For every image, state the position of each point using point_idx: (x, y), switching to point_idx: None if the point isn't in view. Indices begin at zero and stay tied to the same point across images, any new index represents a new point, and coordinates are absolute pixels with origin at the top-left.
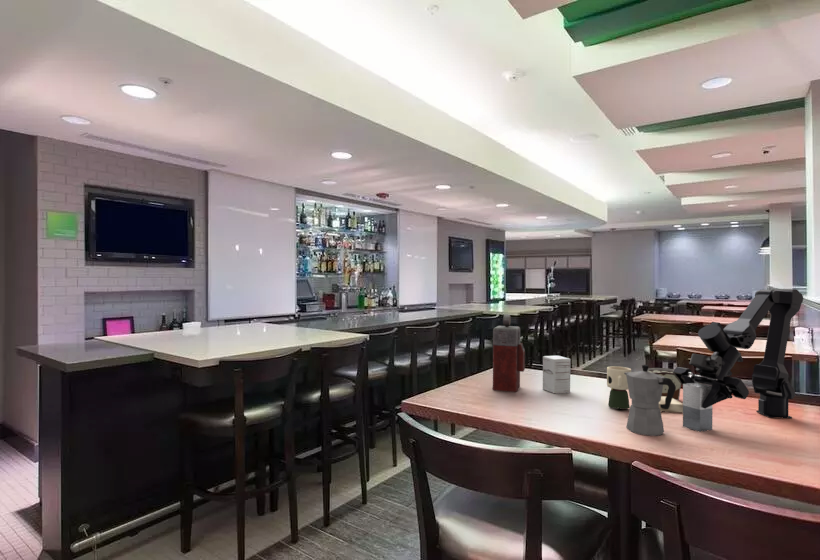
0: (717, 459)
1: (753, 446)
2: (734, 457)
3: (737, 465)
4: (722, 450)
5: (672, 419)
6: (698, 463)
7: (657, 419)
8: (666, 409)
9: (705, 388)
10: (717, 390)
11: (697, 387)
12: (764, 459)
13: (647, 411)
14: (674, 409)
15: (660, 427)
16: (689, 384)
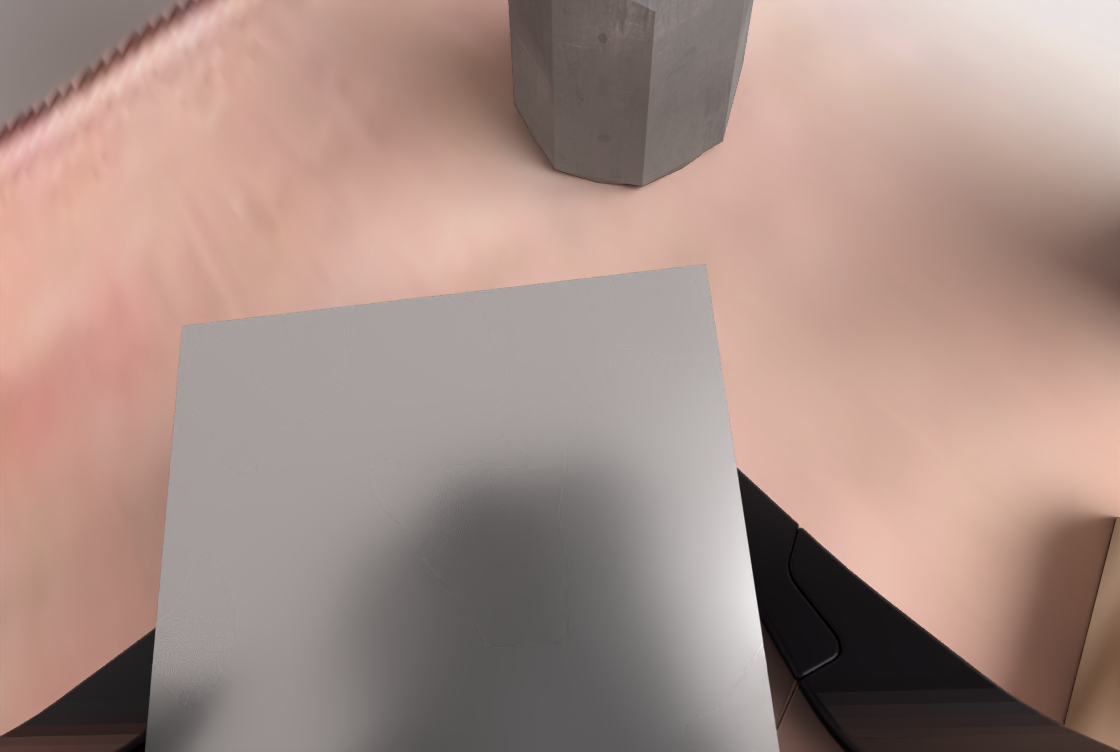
0: (168, 128)
1: None
2: (146, 227)
3: (91, 154)
4: (225, 255)
5: (819, 493)
6: (178, 16)
7: (511, 5)
8: (1107, 680)
9: (197, 546)
10: (9, 740)
11: (257, 318)
12: (65, 348)
13: None
14: None
15: (524, 88)
16: (584, 397)
